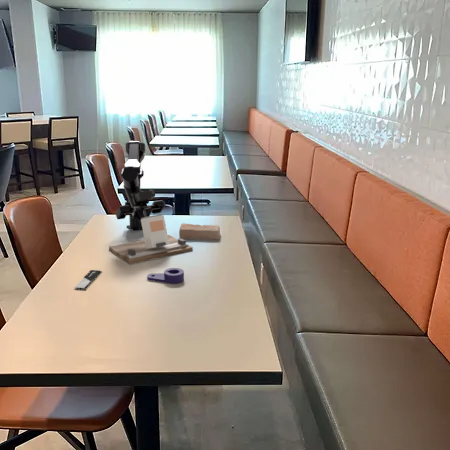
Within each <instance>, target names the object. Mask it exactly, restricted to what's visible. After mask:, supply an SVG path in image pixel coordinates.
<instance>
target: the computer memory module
mask: <svg viewBox="0 0 450 450" xmlns="http://www.w3.org/2000/svg"><path fill="white" fill-rule="evenodd" d="M102 273H103V271H102V270H98V269H97V270H95V269H90V270H89V271H88V273H86V274H85V275H84V277H83V279H81V280H80V281H79V282H78V283H77V284H76V286H74V290H76V291H87V290H88V288H90V286H92V284H93V283H94V282H95V281H96V280H97V279H98V278H99V276H101V274H102Z"/></svg>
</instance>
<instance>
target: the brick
mask: <svg viewBox="0 0 450 450" xmlns="http://www.w3.org/2000/svg"><path fill="white" fill-rule="evenodd" d="M220 229H221V228H220V225H219V224H216V225H215V224H213V225H212V224H202V225H201V224H191V223H181V224H180V226H179V229H178V230H179V231H178V234H179V239H181V238H182V239H184V240H217V241H219V240H220V236H221V230H220Z"/></svg>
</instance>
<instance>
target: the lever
mask: <svg viewBox="0 0 450 450" xmlns="http://www.w3.org/2000/svg"><path fill="white" fill-rule="evenodd" d="M146 278H147V281H150V282H156V283H164V284H168V285H169V284H170V285H177V284H181V283H184V282H185V271H184V269H183V268H180V267H171V268H167V269H165V270H164V271H163V272H161V273H160V272H159V273H154V272H153V273H149V274H147V275H146Z"/></svg>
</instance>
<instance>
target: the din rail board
mask: <svg viewBox="0 0 450 450" xmlns="http://www.w3.org/2000/svg"><path fill="white" fill-rule="evenodd" d="M167 236H168V241H169V245H164V246H160V247H155V248H148V249H146V244H145V239H141V240H136V241H130V242H125V243H121V244H120V243H119V244H116V245H110V246H108V250H109V251H111V252H112V253H113V254H115V255H116V256H117V257H119V258H121V259H122V260H123V261H124V262H126V263H128V264H129V265H134V264H138V263H142V262H146V261H152V260H156V259H159V258H160V259H161V258H165V257H169V256H174V255H177V254H182V253H186V252H190V251H193V249H194V248H193V246H191V245H189V244H188V243H186V241H187V239H182V238H178V239H177V238H176V237H174V236H173V235H170V234H167Z"/></svg>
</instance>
